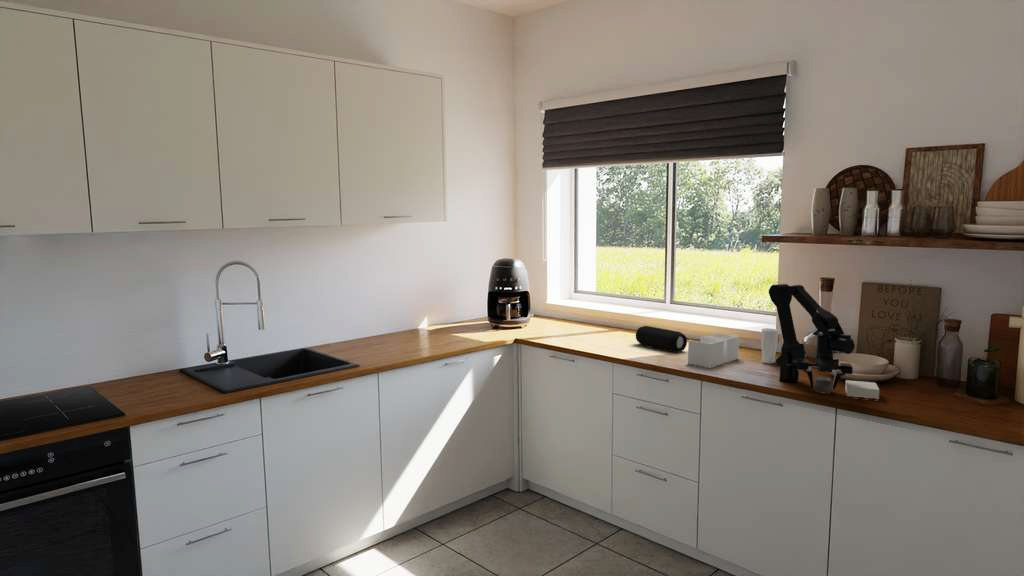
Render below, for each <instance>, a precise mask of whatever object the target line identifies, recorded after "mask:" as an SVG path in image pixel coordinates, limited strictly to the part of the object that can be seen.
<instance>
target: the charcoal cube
mask: <svg viewBox="0 0 1024 576" xmlns="http://www.w3.org/2000/svg"><path fill="white" fill-rule="evenodd" d="M814 382H815V384H814V385H815V386H814V390H816V392H825V393H830V394H831V389H832V379H831V377H821V376H815V381H814ZM816 392H815V393H816Z"/></svg>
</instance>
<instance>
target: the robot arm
mask: <svg viewBox="0 0 1024 576" xmlns="http://www.w3.org/2000/svg"><path fill="white" fill-rule="evenodd" d="M768 294H769V297H770V301H771V302H772V304H773V305H774V306H775V307H776V311H777V316H778V319H779V320H778V322H779V325H780V329H781V331H780V332H781V335H782V336H781V337H782V340H783V343H782V345H781V349H780V351H781V352H780V353H781V354H780V356H778V357H777V358H775V364H776V366H778V367H779V377H778V380H779V382H782V381H785V382H784V383H792V382H795V384H797V383H798V381H799V374H800V373H799V371H803V373H806V374H807V377H808V379H809V383H810V386H811V388H812V389H814V380H813V379H814V378H813V370H812V369H817V371H818V372H819V373H820V372H821V373H823V372H824V373H833V372H834V371H835V372H834V378H833V384H832V391H835V389H836V387H837V384H838V382H839V381H840V379H841V378H842V376H844V377H845V376H846V375H853V371H854V370H853V369H854V368H853V365H852V364H851V363H847V362H845V363H844V362H840V360H839V359H838V358H837V359H835V358H834V352H837V353H842V354H846V355H849V354H852V353H853V351H854V349H855V347H856V346H855V341H854V340H853V339H852V335H851V334H845V333H844V330H843V328H842V327H841V324H840V322H839V319H838V317H837V316H836V315H835V314H833V313H832V312H831V311H828V310H826V309H825V308H823V307H822V306H820V304H819V303H818V302H817V301H816V300H815V299H814V298H813V297H812V295H811V294H810V293H809V292H808V291H807V290H806V289H805V287H804V286H803V285H802V284H793V285H789V284H787V283H780V284H777V283H776V284H772V285H771V286H769V289H768ZM793 298H794V299H795V300H796V301H797V303H799V305H800V306H802V308H803V309H804V310H805V311H806V312H807V314H809V316H810V317H811V322H812V324H813V325H814V327H815V328H816V330H815V331H814V332H812V335H813V336H817V340H816V356H815V357H816V358H815V362H809V359H805V358H806V351H805V345H804V343H800V342H799V340H798V339H797V334H796V331H795V330H796V329H795V325H794V320H793V315H792V310H791V302H792V299H793Z"/></svg>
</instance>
